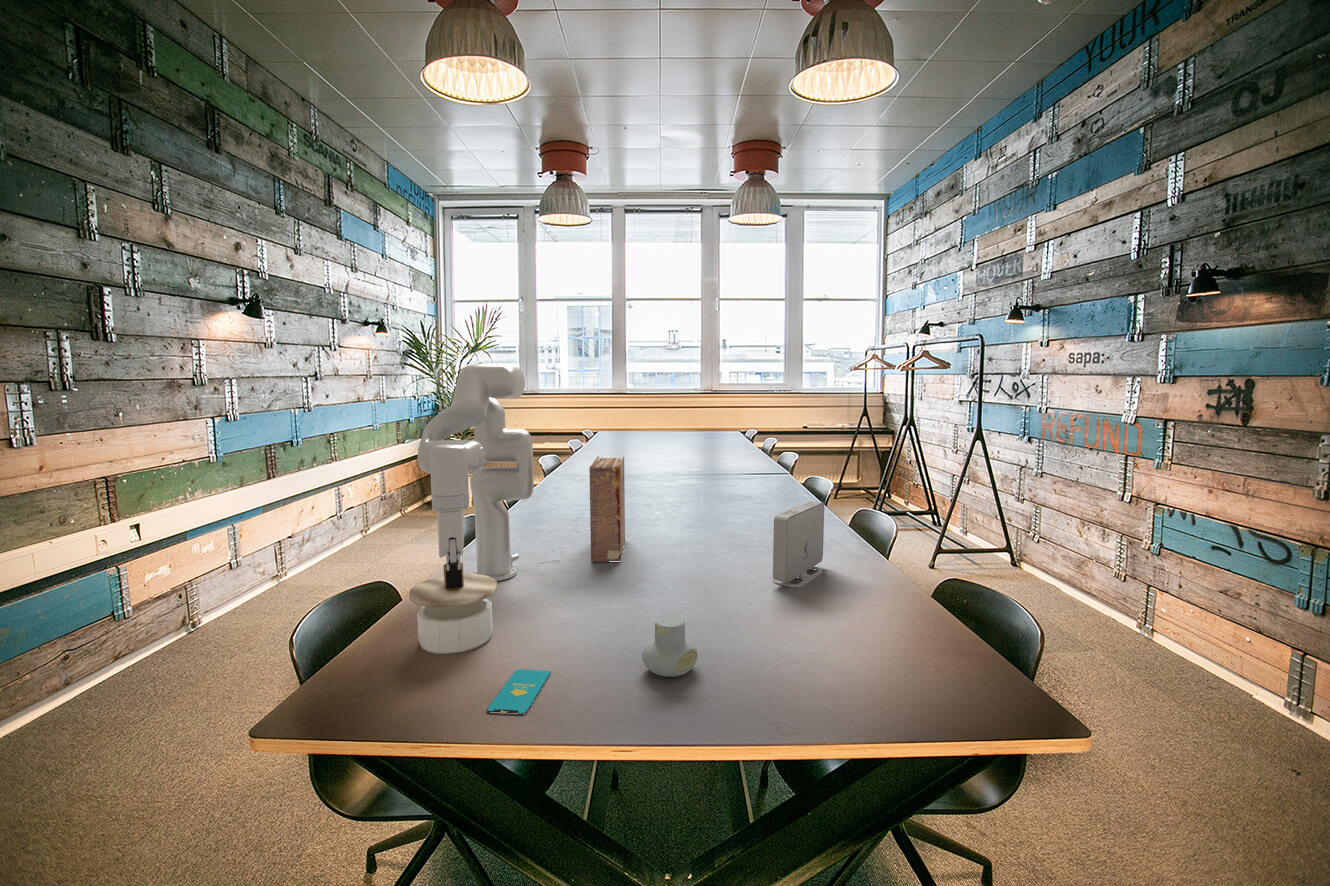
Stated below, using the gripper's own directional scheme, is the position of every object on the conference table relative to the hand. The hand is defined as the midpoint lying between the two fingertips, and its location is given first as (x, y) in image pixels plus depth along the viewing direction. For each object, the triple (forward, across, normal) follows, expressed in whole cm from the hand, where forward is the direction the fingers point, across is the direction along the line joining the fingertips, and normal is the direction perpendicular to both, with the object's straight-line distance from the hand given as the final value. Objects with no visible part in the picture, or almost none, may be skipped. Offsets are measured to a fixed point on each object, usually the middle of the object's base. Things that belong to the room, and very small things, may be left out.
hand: (454, 583), depth 130 cm
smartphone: (+13, +27, +10) cm, 32 cm away
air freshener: (+13, +30, +39) cm, 51 cm away
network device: (+13, -8, +93) cm, 94 cm away
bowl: (+13, 0, 0) cm, 13 cm away
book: (+12, -52, +49) cm, 72 cm away
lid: (+2, 0, 0) cm, 2 cm away
